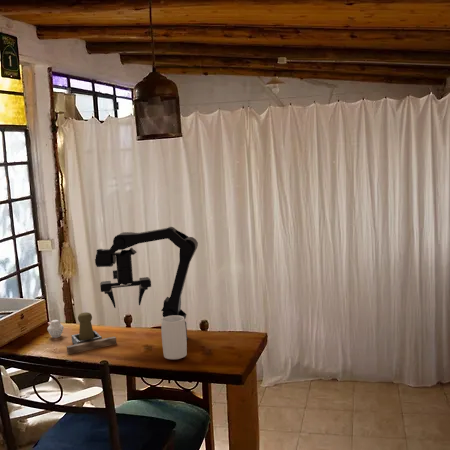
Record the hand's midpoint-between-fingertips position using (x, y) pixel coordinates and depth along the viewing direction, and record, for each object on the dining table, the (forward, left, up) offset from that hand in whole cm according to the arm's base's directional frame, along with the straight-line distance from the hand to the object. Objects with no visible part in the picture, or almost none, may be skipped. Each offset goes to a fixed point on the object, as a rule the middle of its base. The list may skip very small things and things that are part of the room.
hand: (127, 306), depth 211 cm
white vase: (+28, -14, -13) cm, 34 cm away
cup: (-14, +26, -13) cm, 32 cm away
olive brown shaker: (+16, -2, -13) cm, 20 cm away
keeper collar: (+16, -2, -13) cm, 21 cm away
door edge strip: (+14, +5, -13) cm, 20 cm away
